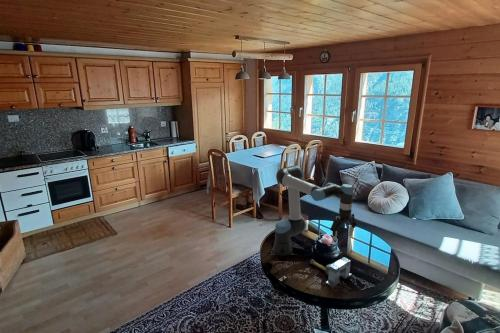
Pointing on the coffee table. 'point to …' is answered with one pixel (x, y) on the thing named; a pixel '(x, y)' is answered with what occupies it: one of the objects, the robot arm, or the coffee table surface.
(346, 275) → the housing
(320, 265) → the yellow handled grey mallet
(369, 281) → the coffee table surface
